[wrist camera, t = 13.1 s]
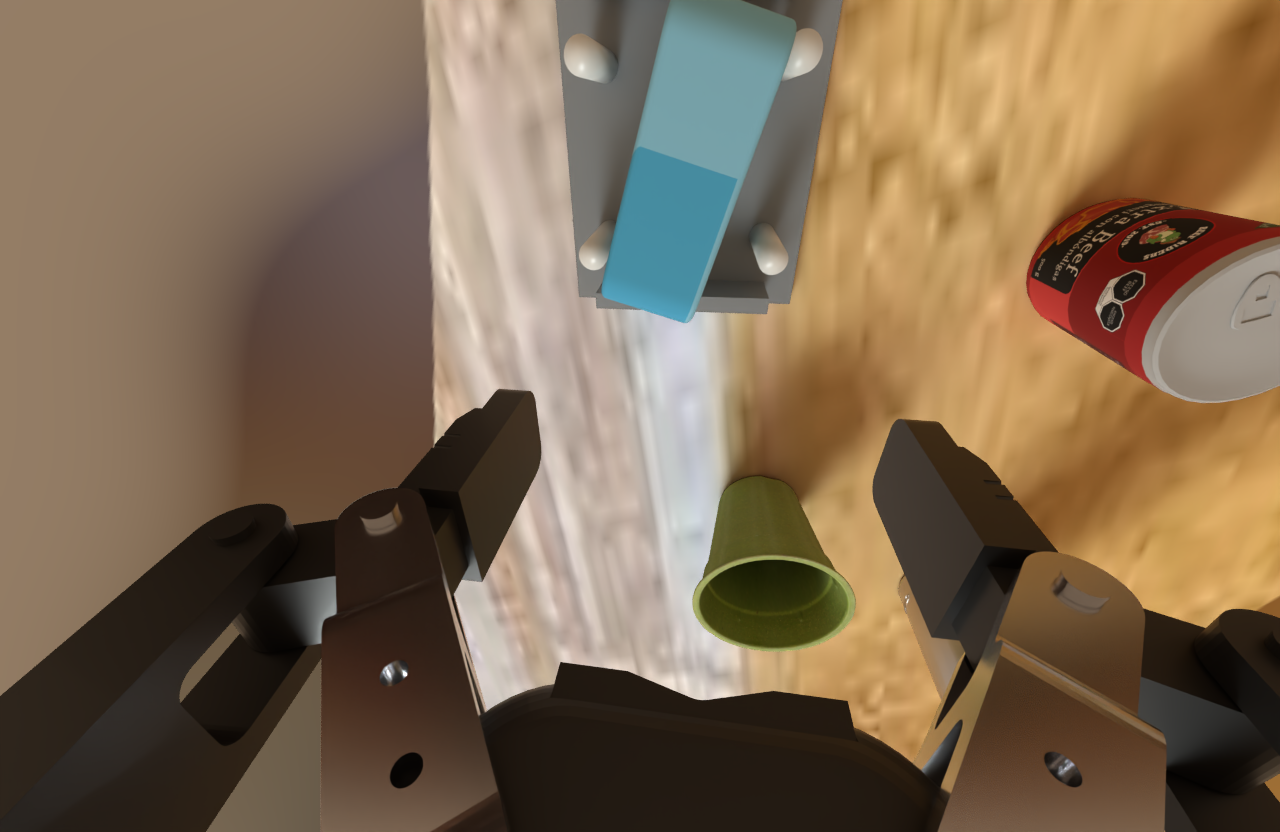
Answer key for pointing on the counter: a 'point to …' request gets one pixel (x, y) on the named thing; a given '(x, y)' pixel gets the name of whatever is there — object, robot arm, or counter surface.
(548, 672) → the counter surface
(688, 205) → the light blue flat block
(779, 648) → the plant pot
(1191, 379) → the canned food
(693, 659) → the counter surface
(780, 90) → the tray
